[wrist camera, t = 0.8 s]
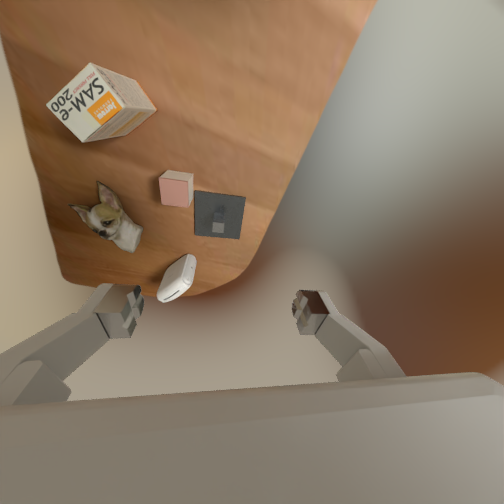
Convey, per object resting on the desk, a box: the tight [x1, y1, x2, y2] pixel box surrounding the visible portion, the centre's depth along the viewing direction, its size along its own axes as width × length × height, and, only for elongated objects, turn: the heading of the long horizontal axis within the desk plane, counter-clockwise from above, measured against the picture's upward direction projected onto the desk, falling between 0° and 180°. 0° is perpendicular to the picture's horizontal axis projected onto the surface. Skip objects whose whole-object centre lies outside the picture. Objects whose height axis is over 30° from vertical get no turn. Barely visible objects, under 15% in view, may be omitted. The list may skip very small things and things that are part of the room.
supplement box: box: [46, 63, 157, 142], centre depth 27 cm, size 8×5×13 cm, turn 119°
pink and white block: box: [159, 170, 193, 207], centre depth 38 cm, size 5×5×7 cm
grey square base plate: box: [195, 190, 246, 239], centre depth 44 cm, size 12×12×6 cm
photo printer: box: [157, 254, 197, 302], centre depth 49 cm, size 10×4×12 cm, turn 126°
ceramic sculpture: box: [68, 181, 143, 253], centre depth 40 cm, size 11×9×15 cm
